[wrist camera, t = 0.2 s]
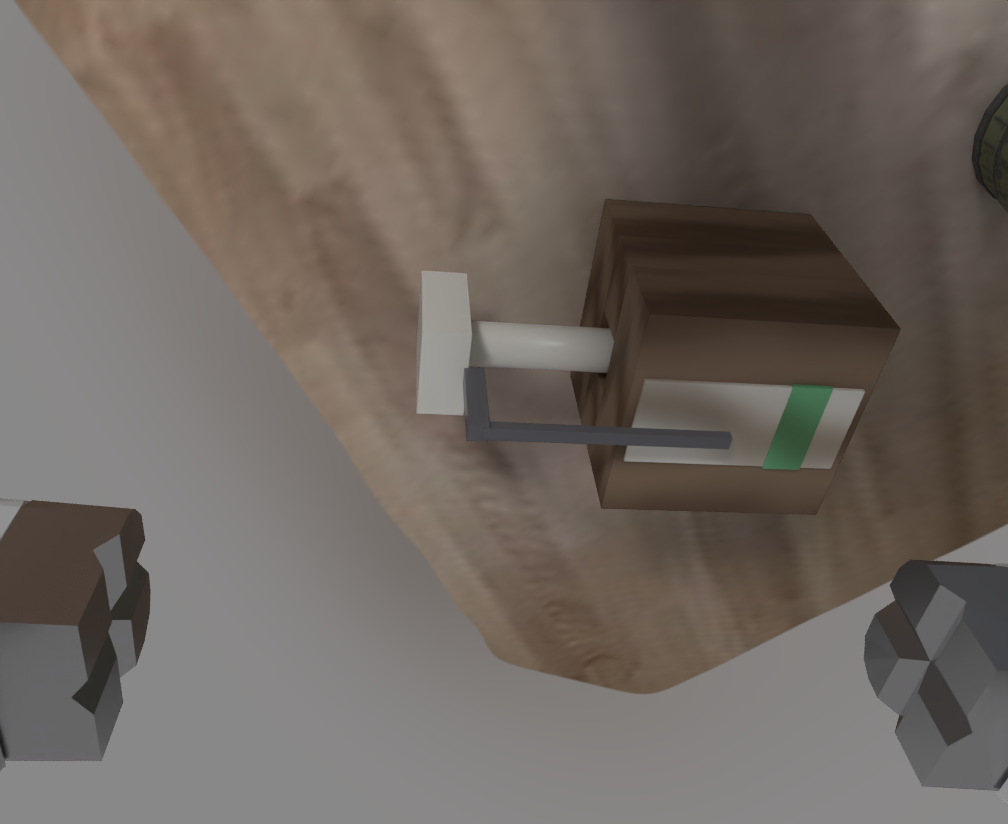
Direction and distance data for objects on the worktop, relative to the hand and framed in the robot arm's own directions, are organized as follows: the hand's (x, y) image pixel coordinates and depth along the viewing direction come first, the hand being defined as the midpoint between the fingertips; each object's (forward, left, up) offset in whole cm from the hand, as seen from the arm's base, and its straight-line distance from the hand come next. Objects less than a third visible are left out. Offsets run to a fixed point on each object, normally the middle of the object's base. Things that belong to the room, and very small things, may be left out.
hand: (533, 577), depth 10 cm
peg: (+19, +8, -36) cm, 41 cm away
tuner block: (+19, +16, -39) cm, 46 cm away
